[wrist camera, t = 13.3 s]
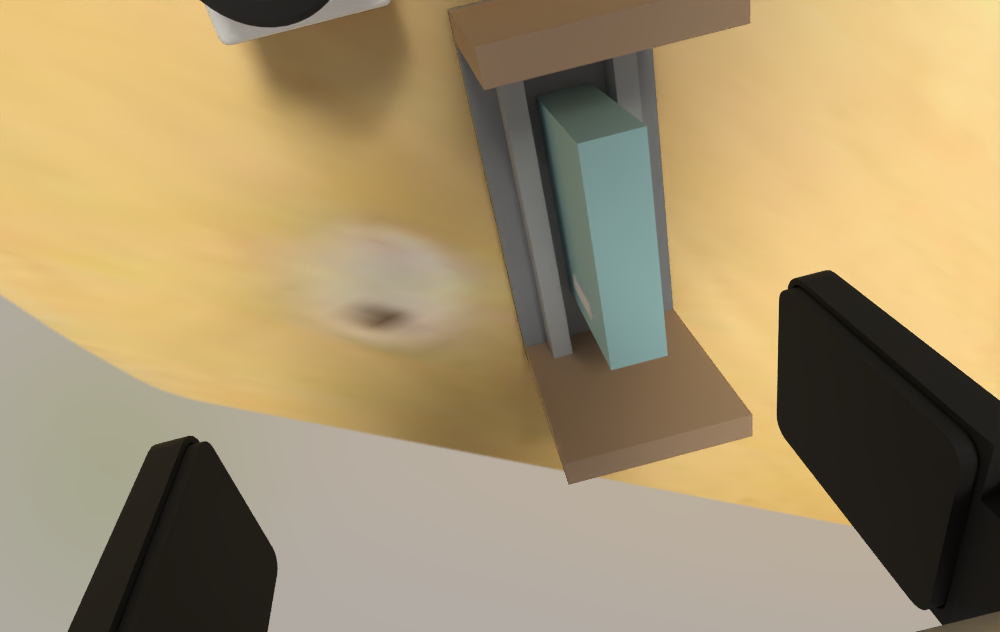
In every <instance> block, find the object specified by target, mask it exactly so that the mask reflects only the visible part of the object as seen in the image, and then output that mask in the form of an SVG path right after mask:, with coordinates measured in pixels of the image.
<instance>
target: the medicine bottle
mask: <svg viewBox="0 0 1000 632" xmlns="http://www.w3.org/2000/svg"><path fill="white" fill-rule="evenodd" d="M200 1H202V2H203V3H204V4H205V6H206V9H207V11H208V14H209V16H210V19H211V21H212V23H213V26H214V28H215V31H216V33H217V36H218V38H219V39H220V41H221V42H222V43H224V44H226V45H233V44H237V43H241V42H245V41H249V40H253V39H257V38H261V37H265V36H269V35H273V34H277V33H281V32H285V31H289V30H292V29H296V28H300V27H304V26H308V25H312V24H316V23H320V22H324V21H328V20H332V19H336V18H340V17H344V16H348V15H352V14H355V13H359V12H363V11H367V10H371V9H375V8H379V7H383V6H386V5H388V4H389V3H390V1H391V0H200Z"/></svg>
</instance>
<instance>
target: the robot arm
mask: <svg viewBox="0 0 1000 632" xmlns="http://www.w3.org/2000/svg"><path fill="white" fill-rule="evenodd" d="M777 421H778V425H779V428H780V431H781V433H782V435H783V436H784V438H785V439H786V441H787V442H788V443H789V445H790V446H791V447H792V448H793V450H794V451H795V452H796V454H797V455H798V456H799V457H800V459H801V460H802V461H803V463H804V464H805V465H806V466H807V468H808V469H809V470H810V472H811V473H812V474H813V475H814V477H815V478H816V479H817V481H818V482H819V483H820V484H821V486H822V487H823V488H824V490H825V491H826V492H827V493H828V495H829V496H830V497H831V499H832V500H833V501H834V502H835V504H836V505H837V506H838V508H839V509H840V510H841V511H842V513H843V514H844V515H845V517H846V518H847V519H848V520H849V522H850V523H851V524H852V526H853V527H854V528H855V529H856V531H857V532H858V533H859V534H860V536H861V537H862V538H863V540H864V541H865V542H866V544H867V545H868V546H869V547H870V549H871V550H872V551H873V553H874V554H875V555H876V556H877V558H878V559H879V560H880V562H881V563H882V564H883V565H884V567H885V568H886V569H887V571H888V572H889V573H890V574H891V576H892V577H893V578H894V579H895V581H896V582H897V583H898V585H899V586H900V587H901V589H902V590H903V591H904V592H905V594H906V595H907V596H908V598H909V599H910V600H911V601H912V602H913V603H914V604H915V605H916V606H917V607H918V608H920V609H922V610H927V609H930V610H931V611H932V613H933V614H934V615H935V616H936V618H937V619H938V620H939V621H940V623H941V624H942V626H938V627H934V628H930V629H926V630H921V631H917V632H1000V400H998V399H997V398H996V397H994V396H993V395H992V394H990V393H989V392H988V391H987V390H985V389H984V388H983V387H981V386H980V385H979V384H978V383H976V382H975V381H974V380H972V379H971V378H970V377H969V376H967V375H966V374H965V373H963V372H962V371H961V370H959V369H958V368H957V367H956V366H954V365H953V364H952V363H950V362H949V361H948V360H947V359H945V358H944V357H943V356H941V355H940V354H939V353H938V352H936V351H935V350H934V349H932V348H931V347H930V346H929V345H927V344H926V343H925V342H923V341H922V340H921V339H919V338H918V337H917V336H916V335H914V334H913V333H912V332H910V331H909V330H908V329H907V328H905V327H904V326H903V325H901V324H900V323H899V322H898V321H896V320H895V319H894V318H892V317H891V316H890V315H889V314H887V313H886V312H885V311H883V310H882V309H881V308H879V307H878V306H877V305H876V304H874V303H873V302H872V301H870V300H869V299H868V298H867V297H865V296H864V295H863V294H861V293H860V292H859V291H858V290H856V289H855V288H854V287H852V286H851V285H850V284H848V283H847V282H846V281H845V280H843V279H842V278H841V277H839V276H838V275H837V274H836V273H834V272H832V271H830V270H825V271H821V272H817V273H814V274H810V275H806V276H802V277H798V278H794V279H793V280H791V281H790V283H789V285H788V290H784V291H782V292H781V294H780V298H779V333H778V382H777ZM276 577H277V559H276V555H275V552H274V550H273V548H272V546H271V544H270V543H269V541H268V539H267V537H266V536H265V534H264V533H263V531H262V529H261V527H260V526H259V524H258V522H257V521H256V519H255V517H254V516H253V514H252V512H251V511H250V509H249V507H248V506H247V504H246V502H245V500H244V499H243V497H242V495H241V494H240V492H239V490H238V489H237V487H236V486H235V484H234V482H233V480H232V479H231V477H230V475H229V474H228V472H227V470H226V469H225V467H224V465H223V463H222V462H221V460H220V459H219V457H218V455H217V453H216V452H215V450H214V448H213V447H212V446H211V444H210V443H208V442H199V441H198V439H196V438H195V437H194V436H187V437H183V438H179V439H175V440H172V441H167V442H163V443H160V444H156V445H154V446H152V447H151V449H150V450H149V452H148V454H147V456H146V458H145V461H144V463H143V465H142V467H141V469H140V472H139V474H138V476H137V478H136V481H135V483H134V485H133V487H132V489H131V492H130V494H129V496H128V499H127V501H126V503H125V505H124V507H123V510H122V512H121V514H120V516H119V519H118V521H117V523H116V525H115V527H114V530H113V532H112V534H111V536H110V538H109V541H108V543H107V545H106V547H105V550H104V552H103V554H102V556H101V559H100V561H99V563H98V565H97V568H96V570H95V572H94V574H93V576H92V579H91V581H90V583H89V585H88V587H87V590H86V592H85V594H84V596H83V599H82V601H81V603H80V605H79V608H78V610H77V612H76V614H75V616H74V619H73V621H72V623H71V625H70V628H69V630H68V632H267V631H268V625H269V619H270V613H271V607H272V601H273V594H274V588H275V583H276Z"/></svg>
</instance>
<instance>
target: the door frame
mask: <svg viewBox="0 0 1000 632" xmlns="http://www.w3.org/2000/svg"><path fill="white" fill-rule="evenodd" d="M448 14H449V19H450V23H451V28H452V32H453V36H454V41H455V45H456V49H457V54H458V58H459V62H460V67H461V71H462V76H463V80H464V84H465V89H466V93H467V97H468V102H469V106H470V111H471V115H472V119H473V124H474V128H475V132H476V137H477V141H478V145H479V150H480V154H481V159H482V163H483V167H484V172H485V176H486V180H487V185H488V189H489V194H490V198H491V202H492V207H493V211H494V215H495V220H496V224H497V228H498V233H499V237H500V242H501V246H502V250H503V255H504V259H505V263H506V268H507V272H508V277H509V281H510V285H511V290H512V294H513V298H514V303H515V307H516V311H517V316H518V320H519V325H520V329H521V333H522V338H523V342H524V346H525V351H526V355H527V359H528V362H529V365H530V368H531V371H532V374H533V377H534V380H535V383H536V386H537V389H538V392H539V395H540V398H541V402H542V405H543V408H544V411H545V414H546V417H547V420H548V423H549V426H550V429H551V432H552V435H553V438H554V441H555V444H556V447H557V450H558V453H559V456H560V459H561V463H562V466H563V469H564V472H565V475H566V478H567V481H568V484H573V483H577V482H580V481H584V480H588V479H592V478H595V477H599V476H603V475H607V474H611V473H614V472H618V471H622V470H626V469H630V468H633V467H637V466H641V465H645V464H648V463H652V462H656V461H660V460H664V459H667V458H671V457H675V456H679V455H682V454H686V453H690V452H694V451H698V450H701V449H705V448H709V447H713V446H717V445H720V444H724V443H728V442H732V441H735V440H739V439H743V438H747V437H751V436H752V414H751V412H750V411H749V410H748V408H747V407H746V406H745V404H744V403H743V402H742V400H741V399H740V398H739V396H738V395H737V394H736V392H735V391H734V390H733V388H732V387H731V386H730V384H729V383H728V382H727V380H726V379H725V378H724V376H723V375H722V374H721V372H720V371H719V370H718V368H717V367H716V366H715V364H714V363H713V362H712V360H711V359H710V358H709V356H708V355H707V354H706V352H705V351H704V350H703V348H702V347H701V345H700V344H699V343H698V341H697V340H696V339H695V337H694V336H693V335H692V333H691V332H690V331H689V329H688V328H687V327H686V325H685V324H684V323H683V321H682V320H681V319H680V317H679V316H678V315H677V313H676V312H675V311H674V309H673V301H672V289H671V276H670V264H669V251H668V238H667V226H666V213H665V201H664V188H663V176H662V163H661V151H660V138H659V126H658V113H657V101H656V88H655V76H654V63H653V51H652V48H654V47H658V46H662V45H666V44H670V43H674V42H678V41H682V40H686V39H690V38H694V37H698V36H702V35H706V34H710V33H714V32H718V31H722V30H726V29H730V28H734V27H738V26H742V25H746V24H749V23H750V0H484V1H480V2H476V3H472V4H468V5H464V6H460V7H456V8H452V9H448ZM589 82H590V83H592V84H593V85H594V86H595V87H597V88H598V89H599V90H601V91H602V92H603V93H605V94H606V95H607V96H608V97H610V98H611V99H612V100H614V101H615V102H616V103H617V104H619V105H620V106H621V107H623V108H624V109H625V110H627V111H628V112H629V113H630V114H632V115H633V116H634V117H636V118H637V119H638V120H640V121H641V122H642V123H643V124H645V125H646V126H647V134H648V145H649V155H650V166H651V177H652V188H653V199H654V210H655V221H656V232H657V243H658V254H659V265H660V276H661V286H662V297H663V308H664V319H665V330H666V341H667V352H668V356H664V357H660V358H657V359H653V360H649V361H645V362H641V363H638V364H634V365H630V366H626V367H622V368H619V369H615V370H611V369H610V367H609V365H608V363H607V361H606V359H605V357H604V355H603V353H602V351H601V349H600V347H599V345H598V343H597V341H596V339H595V338H594V336H593V334H592V332H591V330H590V328H589V326H588V324H587V322H586V320H585V318H584V316H583V314H582V312H581V310H580V308H579V306H578V304H577V302H576V300H575V298H574V296H573V294H572V292H571V290H570V288H569V283H568V277H567V272H566V266H565V260H564V255H563V249H562V243H561V238H560V232H559V226H558V221H557V215H556V210H555V204H554V198H553V193H552V187H551V181H550V176H549V170H548V164H547V159H546V153H545V148H544V142H543V136H542V131H541V125H540V119H539V114H538V108H537V102H536V97H535V96H538V95H542V94H546V93H550V92H554V91H558V90H562V89H565V88H569V87H573V86H577V85H581V84H585V83H589Z"/></svg>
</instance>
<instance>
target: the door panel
mask: <svg viewBox="0 0 1000 632" xmlns="http://www.w3.org/2000/svg"><path fill="white" fill-rule="evenodd" d="M535 97H536V102H537V108H538V114H539V119H540V125H541V131H542V136H543V142H544V148H545V153H546V159H547V164H548V170H549V176H550V181H551V187H552V193H553V198H554V204H555V210H556V215H557V221H558V226H559V232H560V238H561V243H562V249H563V255H564V260H565V266H566V272H567V277H568V283H569V288H570V290H571V292H572V294H573V296H574V298H575V300H576V302H577V304H578V306H579V308H580V310H581V312H582V314H583V316H584V318H585V320H586V322H587V324H588V326H589V328H590V330H591V332H592V334H593V336H594V338H595V339H596V341H597V343H598V345H599V347H600V349H601V351H602V353H603V355H604V357H605V359H606V361H607V363H608V365H609V367H610V369H611V370H615V369H619V368H622V367H626V366H630V365H634V364H638V363H641V362H645V361H649V360H653V359H657V358H660V357H664V356H668V352H667V341H666V330H665V319H664V308H663V297H662V286H661V276H660V265H659V254H658V243H657V232H656V221H655V210H654V199H653V188H652V177H651V166H650V155H649V145H648V134H647V126H646V125H645V124H643V123H642V122H641V121H640V120H638V119H637V118H636V117H634V116H633V115H632V114H630V113H629V112H628V111H627V110H625V109H624V108H623V107H621V106H620V105H619V104H617V103H616V102H615V101H614V100H612V99H611V98H610V97H608V96H607V95H606V94H605V93H603V92H602V91H601V90H599V89H598V88H597V87H595V86H594V85H593V84H592V83H590V82H589V83H585V84H581V85H577V86H573V87H569V88H565V89H562V90H558V91H554V92H550V93H546V94H542V95H538V96H535Z"/></svg>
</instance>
